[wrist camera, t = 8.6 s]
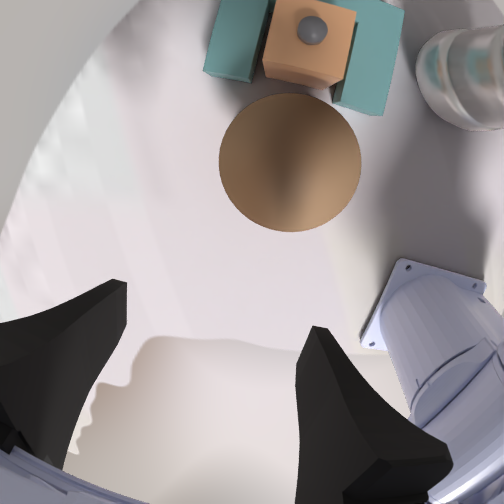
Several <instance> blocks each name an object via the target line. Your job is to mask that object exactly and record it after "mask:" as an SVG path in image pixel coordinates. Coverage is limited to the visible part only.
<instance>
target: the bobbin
mask: <svg viewBox="0 0 504 504" xmlns="http://www.w3.org/2000/svg"><path fill="white" fill-rule="evenodd" d="M219 171H220V177H221V181H222V184H223V187H224V189H225V191H226V193H227V195H228V197H229V198H230V200H231V202H232V203H233V204H234V205H235V207H236V208H237V209H238V210H239V211H240V212H241V213H242V214H243V215H245V216H246V217H247V218H248V219H250V220H251V221H253V222H255V223H256V224H259V225H261V226H263V227H265V228H269V229H272V230H276V231H282V232H299V231H305V230H310V229H313V228H316V227H318V226H321V225H323V224H325V223H327V222H328V221H330V220H331V219H333V218H334V217H335V216H336V215H338V214H339V213H340V212H341V211H342V210H343V209H344V208H345V207H346V205H347V204H348V203H349V201H350V200H351V198H352V196H353V194H354V193H355V190H356V188H357V185H358V182H359V178H360V173H361V154H360V148H359V144H358V141H357V138H356V136H355V134H354V132H353V130H352V128H351V127H350V125H349V124H348V122H347V121H346V120H345V118H344V117H343V116H342V115H341V114H340V113H339V112H338V111H337V110H335V109H334V108H333V107H331V106H330V105H329V104H327V103H325V102H323V101H321V100H319V99H317V98H314V97H311V96H308V95H304V94H298V93H281V94H275V95H270V96H267V97H264V98H262V99H259V100H257V101H255V102H253V103H252V104H250V105H249V106H247V107H246V108H245V109H243V110H242V111H241V112H240V113H239V114H238V115H237V116H236V117H235V119H234V120H233V121H232V122H231V124H230V125H229V127H228V129H227V130H226V133H225V135H224V137H223V140H222V143H221V147H220V153H219Z"/></svg>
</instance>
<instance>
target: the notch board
mask: <svg viewBox="0 0 504 504" xmlns="http://www.w3.org/2000/svg"><path fill="white" fill-rule="evenodd" d="M317 1H321V2H325V3H328V4H332V5H336V6H339V7H343V8H346V9H349V10H352V11H356V12H357V13H356V18H355V23H354V28H353V33H352V38H351V43H350V48H349V53H348V58H347V62H346V67H345V72H344V76H343V79H342V80H340V81H338V82H337V86H336V90H335V94H334V98H333V102H332V103H333V104H336V105H339V106H343V107H346V108H349V109H352V110H355V111H358V112H361V113H364V114H367V115H370V116H383V112H384V108H385V104H386V100H387V96H388V92H389V87H390V83H391V79H392V74H393V70H394V65H395V60H396V55H397V51H398V46H399V40H400V35H401V30H402V24H403V18H404V12H405V11H404V10H402V9H400V8H397V7H395V6H392V5H390V4H388V3H385V2H382V1H380V0H317ZM275 4H276V0H221V3H220V6H219V10H218V14H217V17H216V21H215V24H214V28H213V32H212V36H211V39H210V43H209V47H208V51H207V55H206V59H205V63H204V68H203V71H204V72H206V73H207V74H209V75H210V76H214V77H220V78H226V79H232V80H237V81H243V82H248V83H252V79H253V75H254V71H255V67H256V63H257V59H258V55H259V51H260V47H261V43H262V39H263V35H264V31H265V27H266V23H267V20H268V16H269V12H271V13H273V12H274V8H275Z"/></svg>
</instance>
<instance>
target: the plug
mask: <svg viewBox="0 0 504 504" xmlns="http://www.w3.org/2000/svg"><path fill="white" fill-rule="evenodd" d="M356 13H357V12H356V11H352V10H349V9H346V8H343V7H339V6H336V5H332V4H328V3H325V2H321V1H317V0H276V4H275V8H274V12H273V16H272V21H271V25H270V29H269V33H268V38H267V42H266V46H265V51H264V55H263V59H262V60H263V65H264V70H265V76H266V77H268V78H273V79H278V80H282V81H287V82H291V83H296V84H300V85H304V86H308V87H312V88H316V89H320V90H324V89H326V88H327V87H329V86H331V85H333V84H335V83H337V82H338V81H340V80H342V79H343V76H344V72H345V67H346V62H347V58H348V53H349V48H350V43H351V38H352V33H353V28H354V23H355V18H356Z"/></svg>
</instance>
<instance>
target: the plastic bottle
mask: <svg viewBox="0 0 504 504" xmlns="http://www.w3.org/2000/svg"><path fill="white" fill-rule="evenodd" d="M416 77H417V82H418V86H419V88H420V91H421V94H422V95H423V97H424V99H425V101H426V102H427V104H428V105H429V106H430V108H431V109H432V110H433V111H434V112H435V113H436V114H437V115H438V116H439V117H441V118H442V119H443V120H445V121H447V122H449V123H451V124H453V125H455V126H457V127H460V128H462V129H464V130H468V131H492V130H497V129H501V128H502V129H504V25H499V26H491V27H484V28H477V29H453V30H446V31H442V32H440V33H437V34H436V35H434V36H433V37H432V38H431V39H430V40H428V41H427V42H426V43H425V44H424V45H423V47H422V48H421V49H420V51H419V54H418V56H417V61H416Z"/></svg>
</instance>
